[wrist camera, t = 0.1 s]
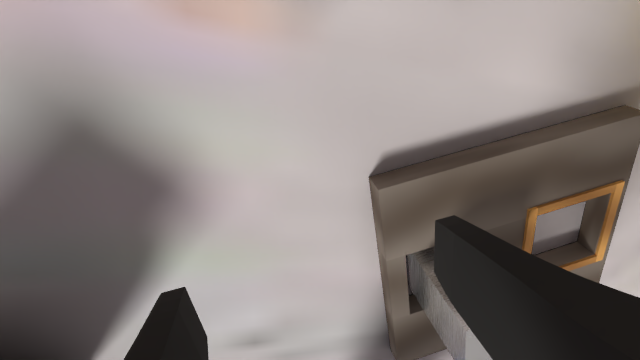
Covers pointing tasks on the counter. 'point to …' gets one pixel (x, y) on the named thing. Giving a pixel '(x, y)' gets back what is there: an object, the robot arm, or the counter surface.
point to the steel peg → (442, 309)
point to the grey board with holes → (503, 205)
